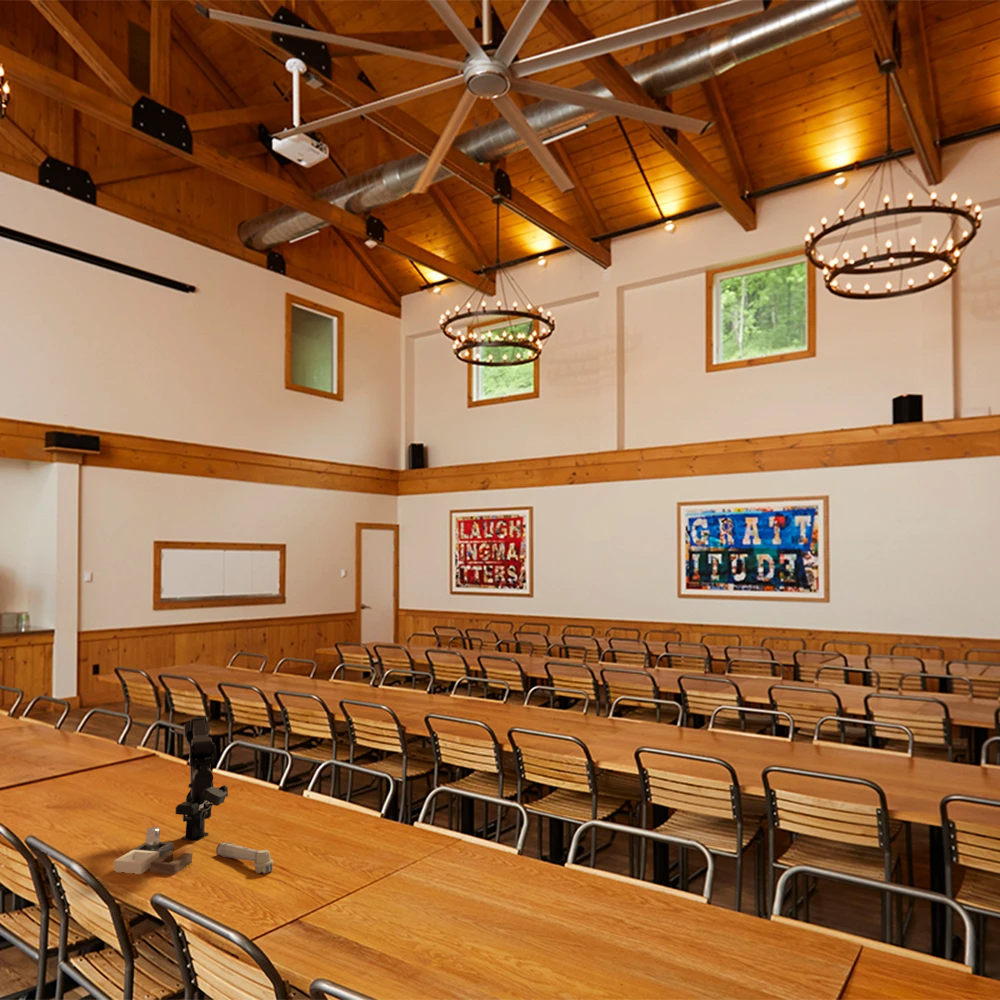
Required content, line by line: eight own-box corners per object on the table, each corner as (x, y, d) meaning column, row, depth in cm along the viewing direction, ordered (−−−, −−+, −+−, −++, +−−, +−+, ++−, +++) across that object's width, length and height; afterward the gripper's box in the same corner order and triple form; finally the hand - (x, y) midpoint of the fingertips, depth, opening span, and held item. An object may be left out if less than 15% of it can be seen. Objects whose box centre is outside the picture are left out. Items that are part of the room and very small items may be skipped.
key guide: (168, 861, 243) (168, 851, 243) (191, 863, 241) (192, 853, 241) (150, 872, 234) (150, 862, 234) (174, 875, 232) (174, 864, 232)
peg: (150, 851, 250) (151, 826, 251) (161, 852, 250) (162, 827, 250) (142, 856, 247) (143, 830, 247) (153, 857, 246) (155, 831, 246)
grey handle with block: (228, 839, 252) (276, 846, 237) (229, 861, 250) (277, 869, 236) (213, 844, 247) (261, 851, 233) (214, 866, 246) (263, 874, 232)
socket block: (148, 848, 253) (148, 840, 254) (173, 850, 252) (173, 842, 252) (130, 858, 245) (130, 850, 245) (156, 861, 243) (156, 852, 243)
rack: (133, 861, 243) (133, 849, 243) (158, 863, 241) (159, 851, 241) (113, 872, 234) (114, 860, 234) (140, 874, 232) (140, 862, 233)
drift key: (185, 855, 247) (186, 844, 247) (192, 856, 247) (193, 844, 247) (172, 863, 240) (173, 852, 240) (179, 864, 240) (180, 852, 240)
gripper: (207, 789, 243) (205, 840, 242) (238, 773, 261) (236, 820, 260) (175, 787, 245) (173, 838, 244) (208, 771, 263) (206, 818, 262)
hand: (198, 828), depth 252 cm, fingers closed
